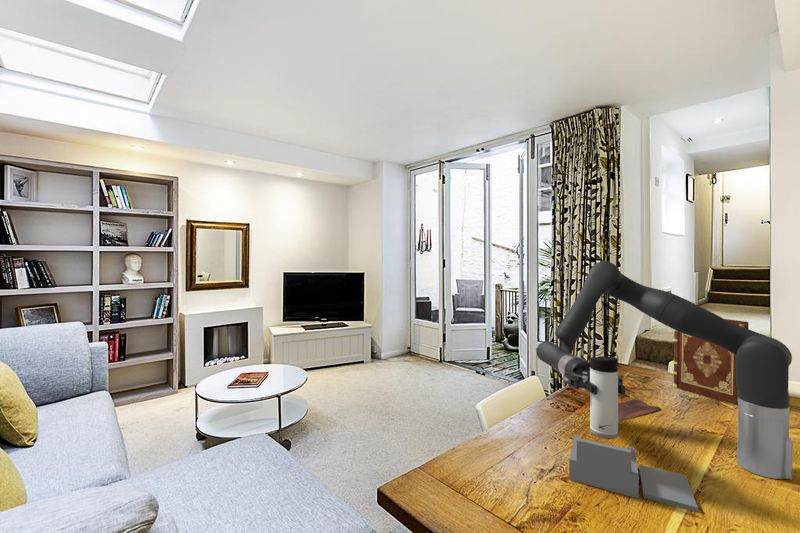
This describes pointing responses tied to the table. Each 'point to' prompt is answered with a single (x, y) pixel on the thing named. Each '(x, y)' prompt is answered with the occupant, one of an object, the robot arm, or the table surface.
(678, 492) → the slate tile
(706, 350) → the decorative book
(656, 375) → the table surface
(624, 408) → the wooden tablet
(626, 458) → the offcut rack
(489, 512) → the table surface
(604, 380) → the travel mug
